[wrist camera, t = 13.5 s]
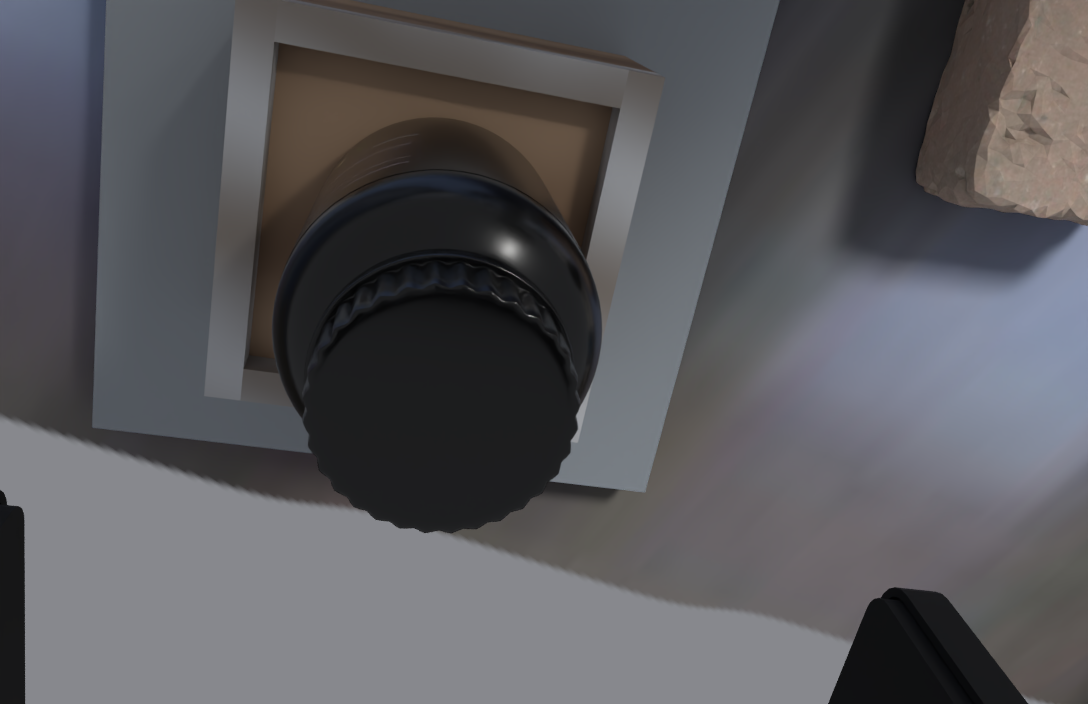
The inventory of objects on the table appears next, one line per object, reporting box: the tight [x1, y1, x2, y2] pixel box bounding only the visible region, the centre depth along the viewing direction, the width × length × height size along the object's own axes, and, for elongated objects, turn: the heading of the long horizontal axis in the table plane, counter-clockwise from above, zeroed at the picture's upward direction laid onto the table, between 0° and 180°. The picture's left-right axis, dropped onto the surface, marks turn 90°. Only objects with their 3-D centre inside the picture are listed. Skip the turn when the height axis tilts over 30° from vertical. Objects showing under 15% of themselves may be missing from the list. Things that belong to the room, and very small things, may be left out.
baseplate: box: [92, 0, 780, 492], centre depth 32 cm, size 20×20×2 cm
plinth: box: [204, 0, 665, 443], centre depth 29 cm, size 11×11×6 cm
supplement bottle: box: [272, 117, 602, 533], centre depth 22 cm, size 7×7×12 cm
